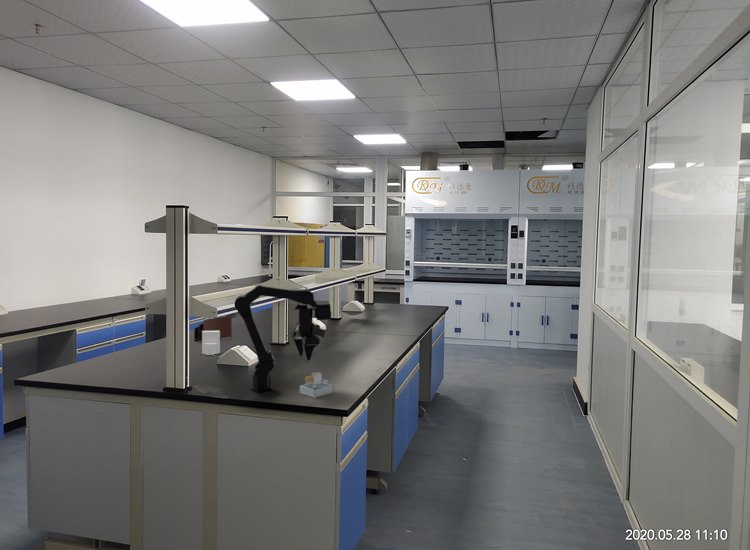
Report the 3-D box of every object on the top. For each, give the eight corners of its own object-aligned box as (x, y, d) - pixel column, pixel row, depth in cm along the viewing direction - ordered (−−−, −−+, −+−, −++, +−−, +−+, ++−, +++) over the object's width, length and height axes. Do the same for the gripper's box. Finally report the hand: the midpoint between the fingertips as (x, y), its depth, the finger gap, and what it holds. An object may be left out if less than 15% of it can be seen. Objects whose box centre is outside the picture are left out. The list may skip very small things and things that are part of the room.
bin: (314, 397, 202) (314, 390, 202) (299, 393, 208) (299, 385, 208) (333, 392, 210) (333, 385, 210) (317, 388, 216) (317, 380, 216)
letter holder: (232, 338, 322) (231, 315, 321) (204, 343, 306) (203, 319, 305) (221, 336, 328) (221, 314, 327) (193, 341, 312) (193, 317, 311)
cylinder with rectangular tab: (201, 355, 272) (200, 332, 271) (203, 352, 281) (203, 329, 280) (219, 355, 274) (219, 332, 273) (220, 351, 283) (220, 329, 282)
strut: (323, 391, 208) (323, 374, 208) (308, 393, 205) (308, 375, 205) (319, 389, 212) (319, 371, 211) (304, 391, 209) (304, 373, 208)
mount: (316, 387, 217) (316, 381, 217) (304, 384, 222) (304, 378, 222) (328, 383, 223) (328, 378, 222) (317, 380, 227) (317, 375, 227)
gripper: (332, 322, 210) (331, 361, 211) (315, 316, 227) (315, 352, 228) (305, 324, 205) (305, 363, 206) (291, 317, 222) (290, 354, 223)
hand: (304, 358), depth 216 cm, fingers open, 9 cm apart
